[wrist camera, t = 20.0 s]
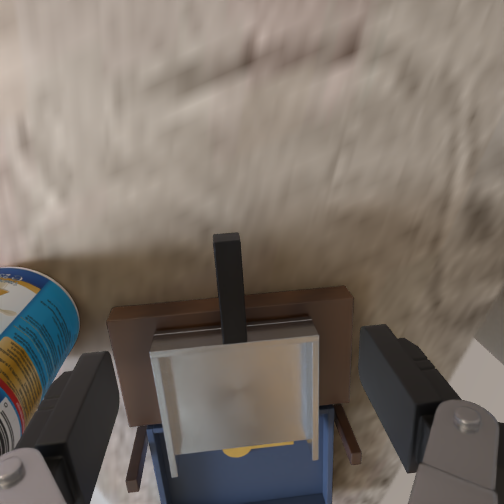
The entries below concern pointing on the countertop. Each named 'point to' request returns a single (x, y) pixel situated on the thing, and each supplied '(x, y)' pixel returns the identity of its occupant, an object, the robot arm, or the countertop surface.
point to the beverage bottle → (30, 345)
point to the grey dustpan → (236, 374)
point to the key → (245, 450)
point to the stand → (208, 314)
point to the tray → (248, 472)
